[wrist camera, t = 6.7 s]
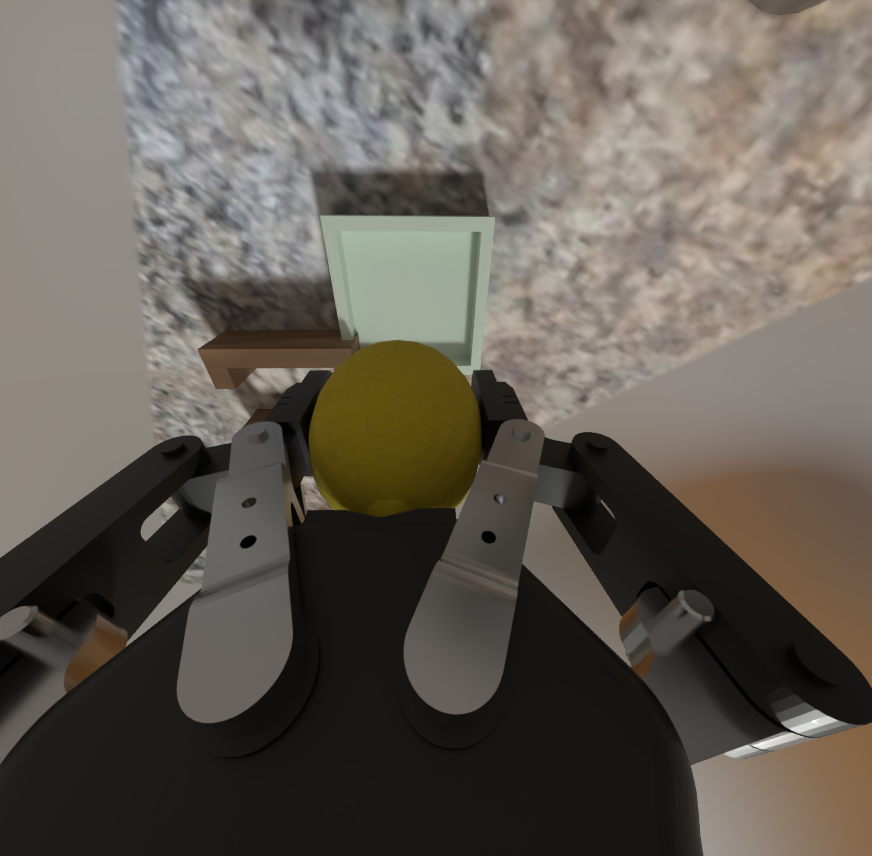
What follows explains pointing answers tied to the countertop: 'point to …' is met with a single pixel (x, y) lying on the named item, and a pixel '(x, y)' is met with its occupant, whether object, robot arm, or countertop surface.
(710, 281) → the countertop surface
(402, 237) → the dish
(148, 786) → the robot arm
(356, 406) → the lemon
